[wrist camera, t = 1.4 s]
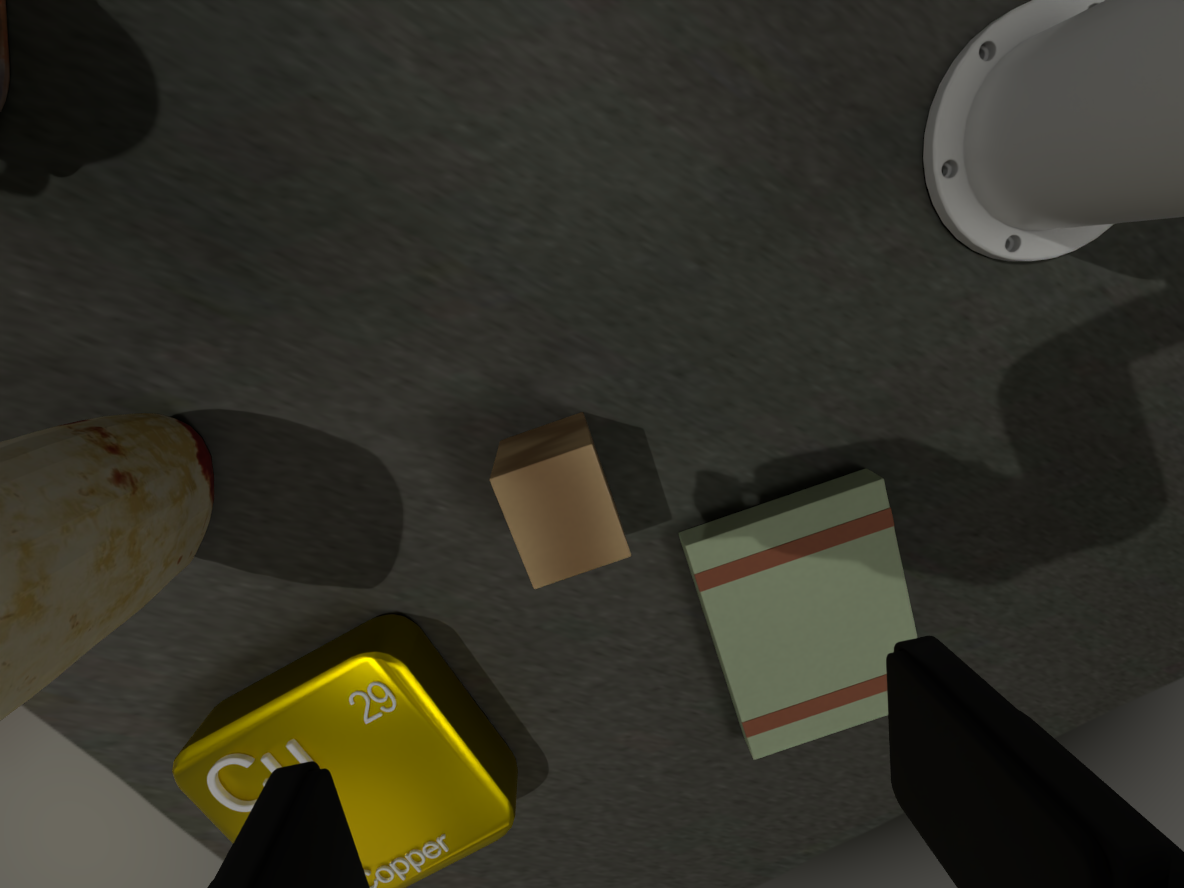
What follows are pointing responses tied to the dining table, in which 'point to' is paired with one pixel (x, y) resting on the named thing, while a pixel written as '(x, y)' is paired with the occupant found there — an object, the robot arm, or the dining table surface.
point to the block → (558, 501)
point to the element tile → (365, 750)
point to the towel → (804, 608)
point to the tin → (4, 55)
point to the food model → (91, 535)
